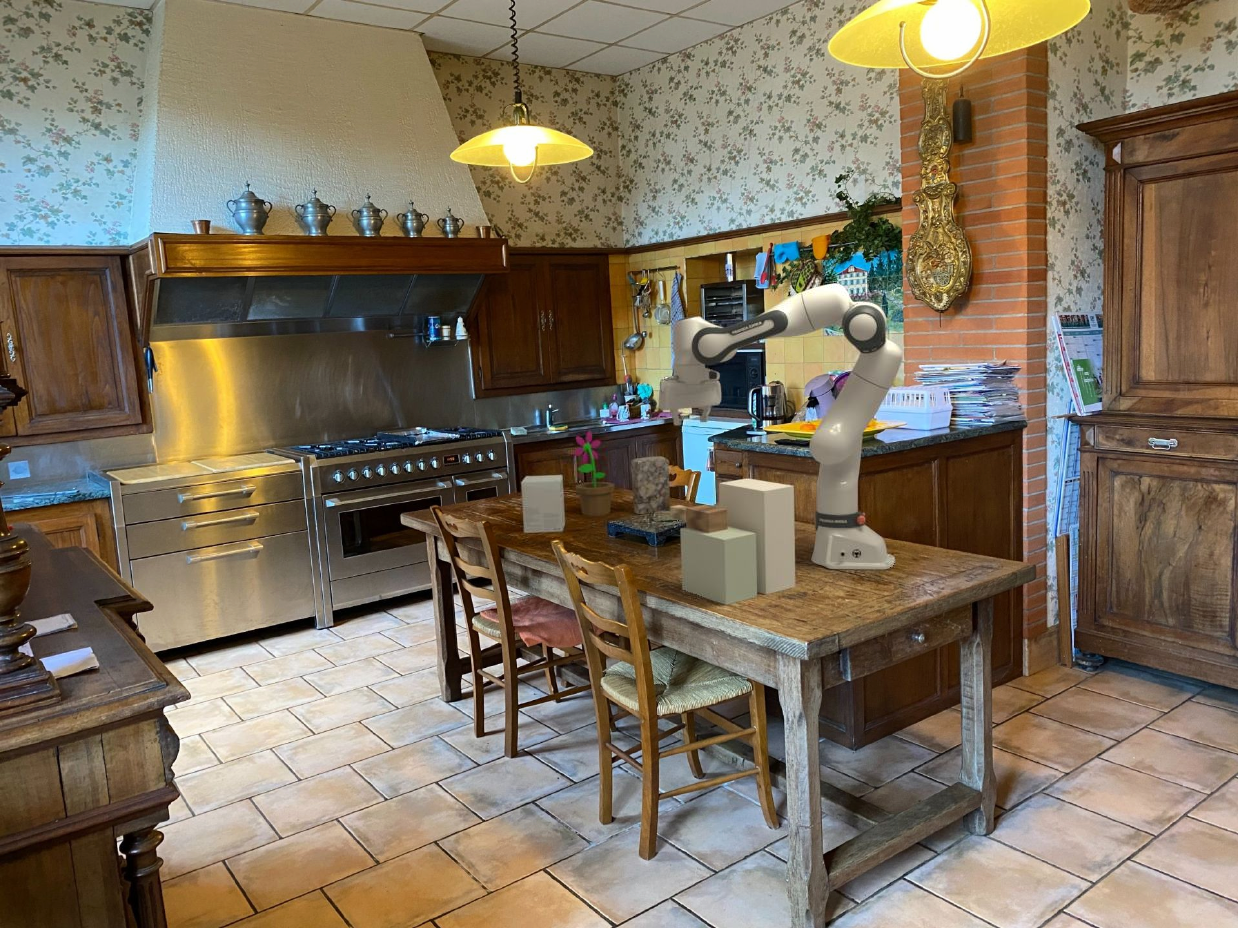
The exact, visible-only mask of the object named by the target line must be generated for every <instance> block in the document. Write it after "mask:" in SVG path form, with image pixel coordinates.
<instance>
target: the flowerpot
mask: <svg viewBox="0 0 1238 928" xmlns="http://www.w3.org/2000/svg"><path fill="white" fill-rule="evenodd" d="M592 433H593V432H592V431H591V430H589V431H588V432H587V433H586V436H585V440H584V439H583V438H582V437H581V436H576V437H575V441H576V443H577V444H578V445H579V446H582V447H578V448H577V449H575V450H574V451H573V453H572V455H573V456H580V455H582V458H581V462H582V465H581V466H579V467H578V468H577V470H578V471H579V472H582V473H590V472H592V479H593V480H592V482H585V483H580V484H576V485H575V490H574V491H575V493H577V494H578V498H579V503H580V509H581V514H582V515H584V516H592V517H593V516H594V517H595V516H597V517H598V516H605V515H608V514H610V512H611V503H612V493H613V492H614V491H615V483H611V482H604V481H597V479H603V478H604V477H605V476H606V473H604V472H599V471H598V472H596V465H595V460H598V459H599V455H598V453H597V452H596V451H595V450H593V449H592V448H597V447H599V446H600V444H601V440H597V439H596V440H592V439H593V434H592ZM589 457H590V459H591V460H590V461H591V463H588V462H589Z"/></svg>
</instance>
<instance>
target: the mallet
mask: <svg viewBox="0 0 1238 928" xmlns="http://www.w3.org/2000/svg"><path fill="white" fill-rule="evenodd" d="M712 506H713V505H707V504H702V505H695V506H686V505H681V504H677V505H672V506H669V511H670V514H671V518H674V519H678V520H682V521H681V522H685V523H686V524H685V526H686V527H685V528H691V529H695V530H699V531H703V532H707V533H712V532H717V531H722V530H727V529H728V524H727V510H726V509H722V508H717V507H712Z"/></svg>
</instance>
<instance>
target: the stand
mask: <svg viewBox="0 0 1238 928" xmlns="http://www.w3.org/2000/svg"><path fill="white" fill-rule="evenodd" d="M718 496H719V497H718V502H719V507H720V508H722V509H726V510H727V524H728V529H727V530H722V531H717V532H712V533H707V532H703V531H699V530H695V529H691V528H687V527H682V528H680V553H681V554H680V557H681V560H680V561H681V585H682V586H681V587H682V588H681V589H682V590H681V591H684V590H686V591H685V592H687V591H688V592H687V593H690V592H691V593H690V594H692V593H693V594H692V595H695V594H697V595H696V596H698V595H699V597H701V596H702V598H705V599H707V600H710V601H713V602H715V603H719V604H721V605H725V606H728V605H731V604H735V603H739V602H742V601H746V600H751V599H754V598H755V599H756V598H757V597H758V593H759V594H764V595H770V594H772V593H777V592H781V591H784V590H785V591H786V590H789V589H792V588H793V589H794V588H796V555H795V553H796V552H795V551H796V550H795V549H796V545H795V544H796V543H795V541H796V540H795V538H796V537H795V535H796V533H795V485H790V484H784V483H783V484H782V483H778V482H772V481H765V480H760V479H754V478H742V479H736V480H731V481H729V480H728V481H723V482H718Z"/></svg>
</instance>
